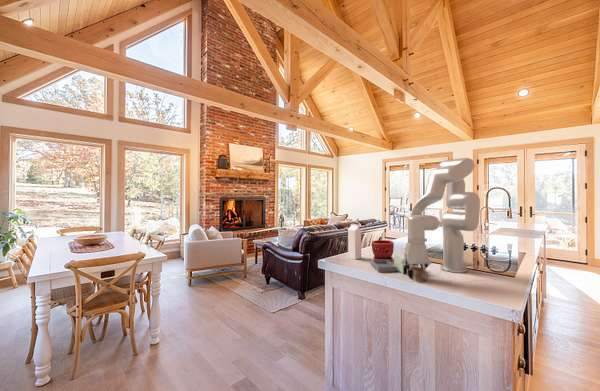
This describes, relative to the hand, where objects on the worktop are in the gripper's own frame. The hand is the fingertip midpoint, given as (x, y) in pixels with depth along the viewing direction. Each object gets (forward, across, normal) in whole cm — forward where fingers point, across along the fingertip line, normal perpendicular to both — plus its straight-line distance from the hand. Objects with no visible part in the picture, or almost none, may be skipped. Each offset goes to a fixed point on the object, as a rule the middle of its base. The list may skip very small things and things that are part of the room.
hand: (416, 277), depth 129 cm
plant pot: (+1, +6, -34) cm, 34 cm away
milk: (+1, +22, -41) cm, 46 cm away
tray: (+1, +11, -18) cm, 21 cm away
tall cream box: (+1, 0, -13) cm, 13 cm away
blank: (+1, 0, 0) cm, 1 cm away
